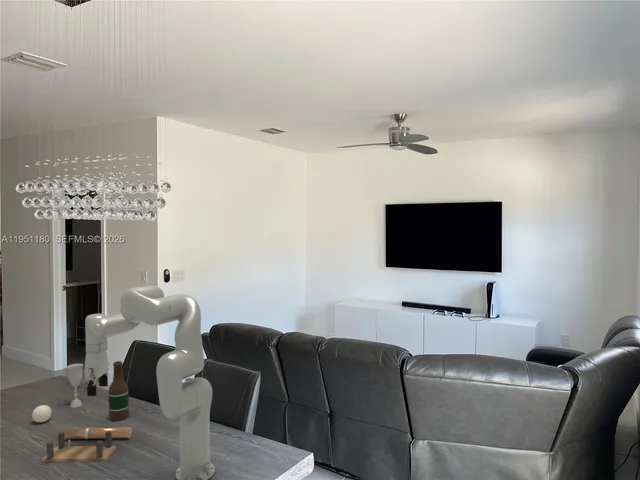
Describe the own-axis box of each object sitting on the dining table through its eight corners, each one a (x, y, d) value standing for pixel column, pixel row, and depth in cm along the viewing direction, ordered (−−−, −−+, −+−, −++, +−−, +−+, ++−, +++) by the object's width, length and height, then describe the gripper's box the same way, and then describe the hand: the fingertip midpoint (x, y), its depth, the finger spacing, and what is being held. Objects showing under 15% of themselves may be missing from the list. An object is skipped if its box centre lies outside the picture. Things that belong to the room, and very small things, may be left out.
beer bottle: (104, 419, 194) (103, 363, 193) (120, 412, 201) (119, 358, 200) (117, 423, 191) (116, 366, 190) (132, 416, 198) (131, 360, 196)
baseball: (56, 417, 196) (55, 402, 196) (44, 425, 189) (43, 409, 188) (41, 417, 197) (40, 401, 196) (28, 424, 189) (28, 408, 189)
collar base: (116, 448, 170) (116, 430, 169) (106, 460, 161) (105, 442, 160) (55, 449, 169) (55, 432, 169) (41, 462, 160) (41, 443, 160)
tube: (131, 437, 179) (132, 426, 180) (127, 439, 175) (128, 427, 176) (69, 438, 178) (70, 426, 179) (63, 440, 174) (65, 428, 175)
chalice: (68, 403, 211) (67, 364, 210) (84, 401, 214) (83, 362, 213) (66, 409, 205) (65, 369, 204) (84, 406, 207) (83, 367, 207)
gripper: (97, 340, 184) (98, 382, 185) (75, 353, 167) (76, 399, 168) (116, 340, 184) (117, 382, 185) (96, 353, 167) (97, 399, 168)
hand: (97, 390), depth 176 cm, fingers open, 9 cm apart
